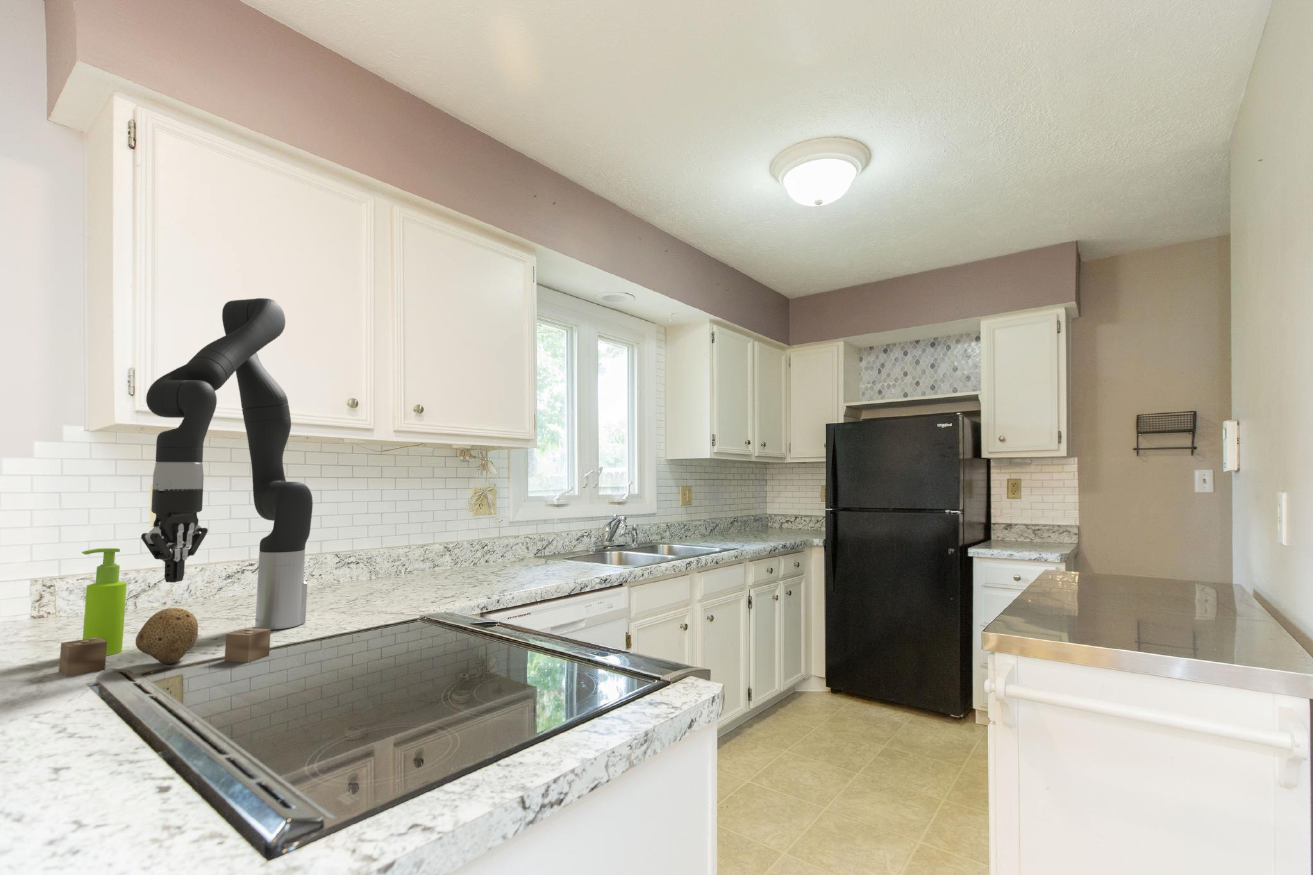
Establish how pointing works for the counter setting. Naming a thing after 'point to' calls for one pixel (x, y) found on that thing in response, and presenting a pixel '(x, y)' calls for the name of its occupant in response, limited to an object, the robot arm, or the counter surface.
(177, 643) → the natural sponge
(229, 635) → the walnut block two pips
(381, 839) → the counter surface
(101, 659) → the walnut block three pips
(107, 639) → the soap dispenser
